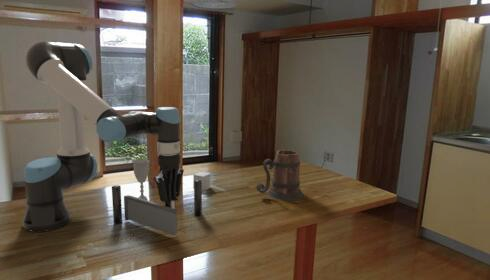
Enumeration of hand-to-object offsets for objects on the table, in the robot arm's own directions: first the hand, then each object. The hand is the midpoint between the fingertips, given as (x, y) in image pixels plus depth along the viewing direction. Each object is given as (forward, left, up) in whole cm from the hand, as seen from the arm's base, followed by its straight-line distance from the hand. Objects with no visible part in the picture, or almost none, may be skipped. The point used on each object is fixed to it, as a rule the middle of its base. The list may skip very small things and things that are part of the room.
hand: (170, 217), depth 128 cm
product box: (+19, +42, -5) cm, 47 cm away
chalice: (-9, +31, -5) cm, 33 cm away
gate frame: (-3, +12, -5) cm, 13 cm away
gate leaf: (-7, +3, -4) cm, 9 cm away
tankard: (+52, +25, -5) cm, 58 cm away
